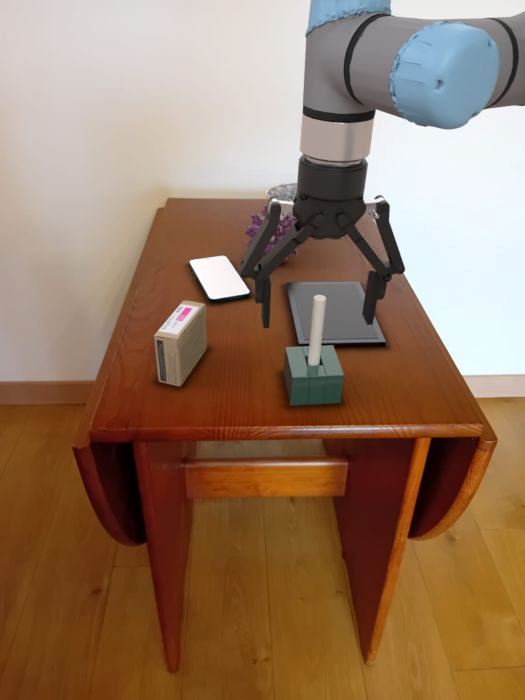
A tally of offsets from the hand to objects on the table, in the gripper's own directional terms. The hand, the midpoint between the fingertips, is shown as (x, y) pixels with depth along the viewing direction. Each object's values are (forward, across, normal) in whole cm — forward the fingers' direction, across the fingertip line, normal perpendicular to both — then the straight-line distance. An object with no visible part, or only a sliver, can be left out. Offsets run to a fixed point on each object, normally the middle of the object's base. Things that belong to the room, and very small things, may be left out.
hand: (316, 321), depth 71 cm
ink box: (+12, +18, -6) cm, 23 cm away
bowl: (+12, -8, -59) cm, 60 cm away
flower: (+12, 0, -41) cm, 43 cm away
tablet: (+12, -7, -19) cm, 24 cm away
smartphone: (+12, +12, -33) cm, 37 cm away
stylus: (+11, 0, 0) cm, 11 cm away
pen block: (+11, 0, 0) cm, 11 cm away
